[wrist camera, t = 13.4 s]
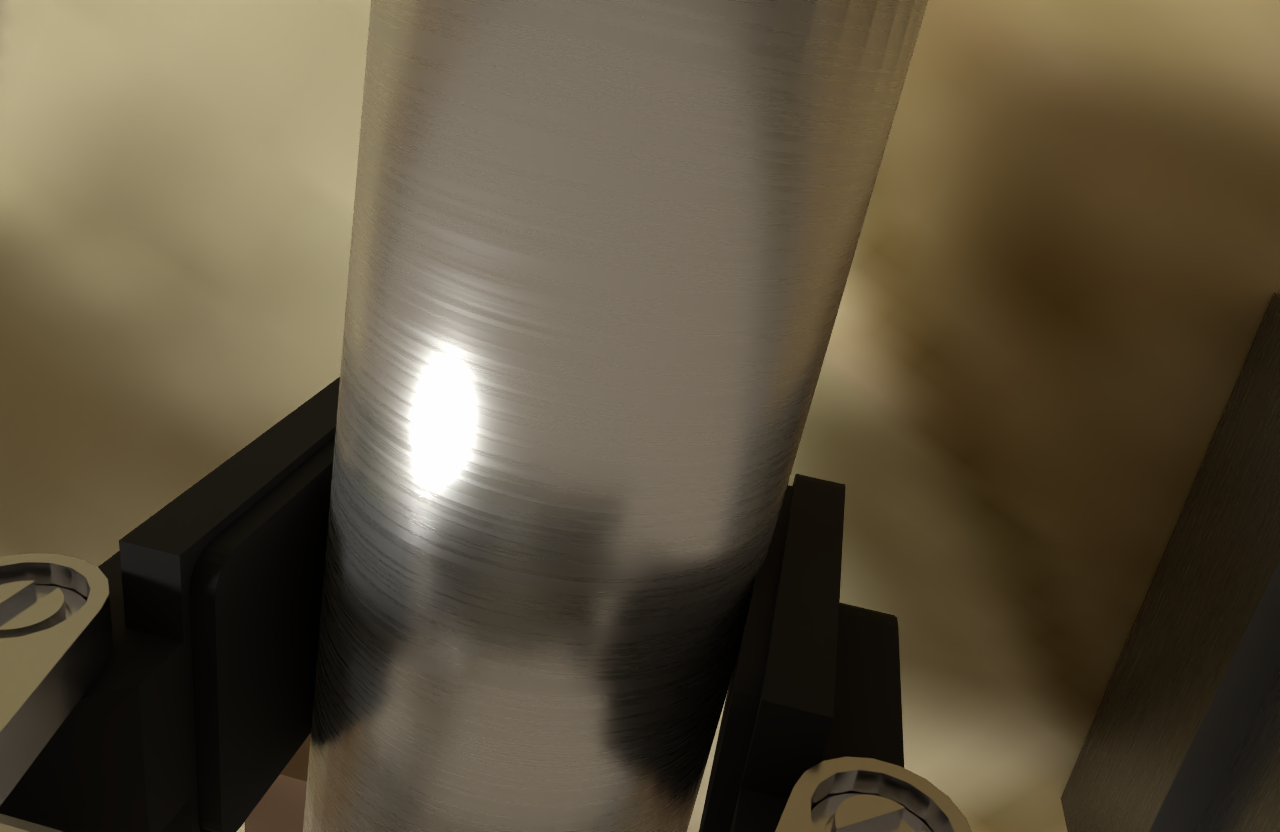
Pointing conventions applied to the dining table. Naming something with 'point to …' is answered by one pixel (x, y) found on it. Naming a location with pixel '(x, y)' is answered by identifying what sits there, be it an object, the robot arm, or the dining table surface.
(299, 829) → the parallel rectangular beams
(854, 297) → the dining table surface
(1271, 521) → the v-block
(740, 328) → the axle
